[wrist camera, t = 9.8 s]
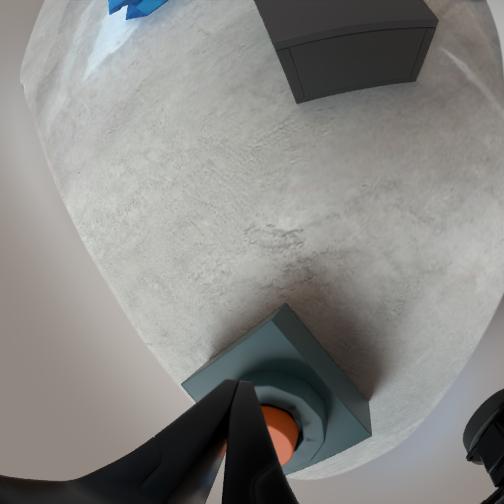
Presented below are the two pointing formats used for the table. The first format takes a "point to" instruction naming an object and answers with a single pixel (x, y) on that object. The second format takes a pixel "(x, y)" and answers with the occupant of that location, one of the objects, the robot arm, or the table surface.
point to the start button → (281, 432)
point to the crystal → (135, 7)
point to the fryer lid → (338, 18)
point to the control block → (292, 386)
